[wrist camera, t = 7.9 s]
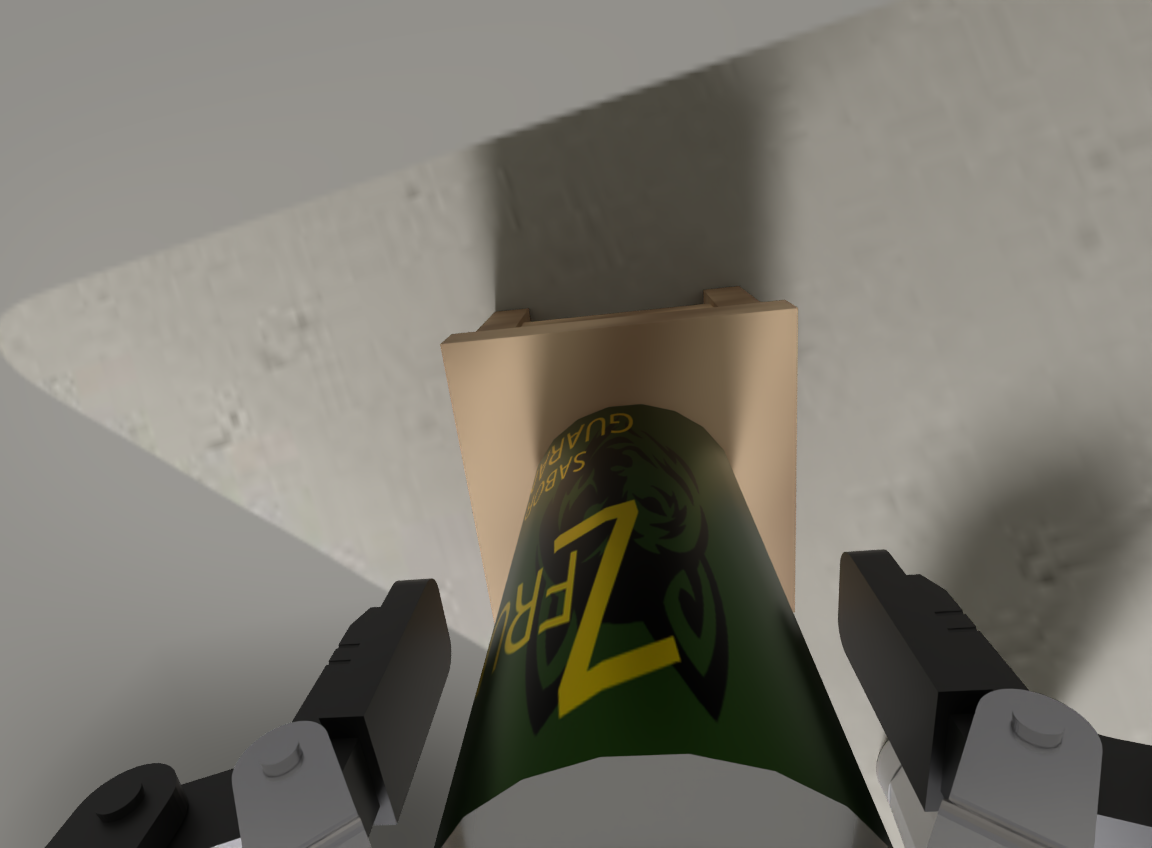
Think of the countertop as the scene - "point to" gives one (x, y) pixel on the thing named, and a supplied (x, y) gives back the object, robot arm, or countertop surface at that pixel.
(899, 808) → the cup
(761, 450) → the stool
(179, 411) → the countertop surface
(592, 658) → the green soda can
